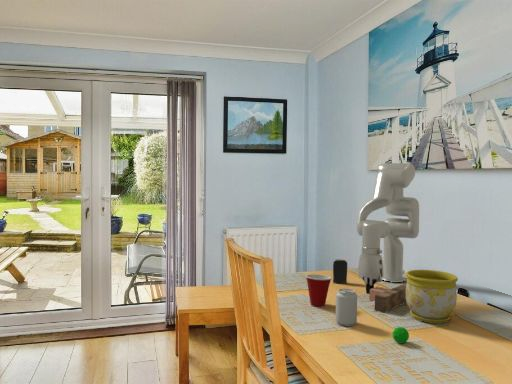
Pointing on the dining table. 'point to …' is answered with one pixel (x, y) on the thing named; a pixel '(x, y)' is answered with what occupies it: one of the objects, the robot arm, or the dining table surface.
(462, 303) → the dining table surface
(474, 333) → the dining table surface
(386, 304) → the brown blocky bar
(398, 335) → the green ball
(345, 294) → the can
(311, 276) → the plastic cup
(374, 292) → the terracotta block
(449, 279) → the flowerpot
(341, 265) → the battery charger
